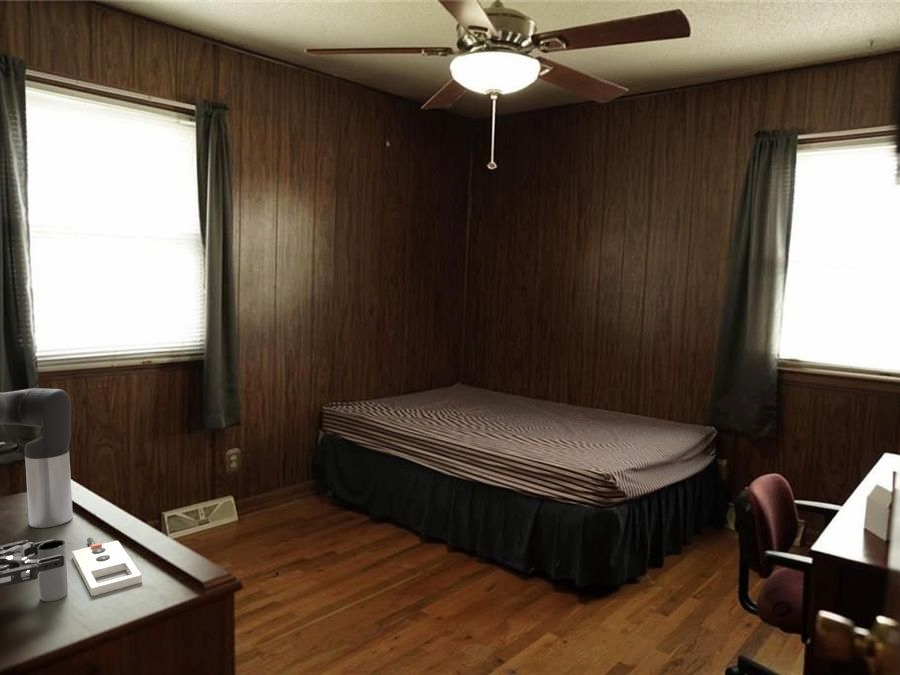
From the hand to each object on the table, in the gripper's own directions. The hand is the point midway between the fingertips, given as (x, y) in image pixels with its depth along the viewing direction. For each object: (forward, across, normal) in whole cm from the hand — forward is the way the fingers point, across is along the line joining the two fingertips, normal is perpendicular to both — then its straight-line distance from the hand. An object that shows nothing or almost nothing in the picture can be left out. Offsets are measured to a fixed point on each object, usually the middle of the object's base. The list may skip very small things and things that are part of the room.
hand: (60, 551), depth 124 cm
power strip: (+9, +9, +9) cm, 15 cm away
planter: (-1, 0, +9) cm, 9 cm away
